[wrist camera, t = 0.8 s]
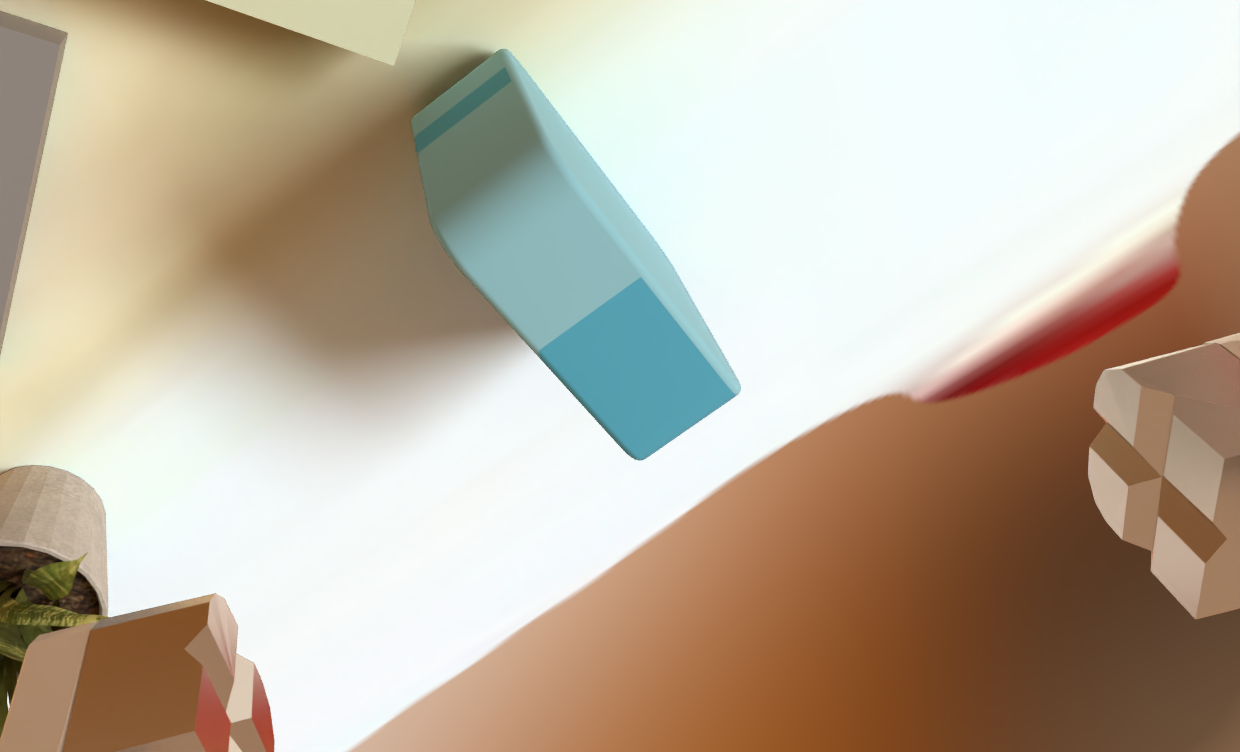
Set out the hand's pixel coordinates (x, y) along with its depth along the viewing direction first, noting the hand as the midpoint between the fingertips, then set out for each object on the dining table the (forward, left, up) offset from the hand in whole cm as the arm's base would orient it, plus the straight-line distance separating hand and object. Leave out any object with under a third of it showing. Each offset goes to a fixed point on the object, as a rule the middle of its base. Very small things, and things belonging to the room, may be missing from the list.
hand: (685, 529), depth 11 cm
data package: (+9, +8, -36) cm, 38 cm away
